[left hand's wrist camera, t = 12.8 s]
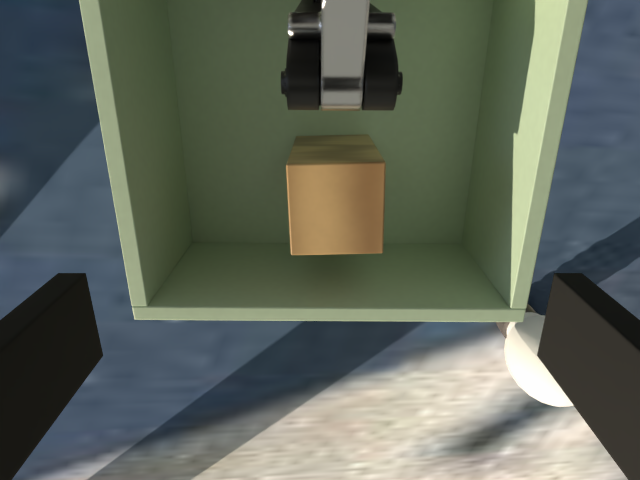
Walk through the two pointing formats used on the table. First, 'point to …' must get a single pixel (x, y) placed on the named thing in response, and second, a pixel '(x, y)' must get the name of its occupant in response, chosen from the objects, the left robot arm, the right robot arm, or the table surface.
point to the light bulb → (530, 359)
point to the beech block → (336, 195)
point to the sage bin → (284, 125)
